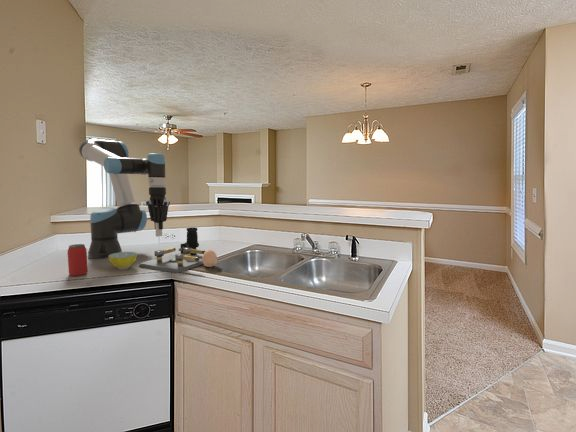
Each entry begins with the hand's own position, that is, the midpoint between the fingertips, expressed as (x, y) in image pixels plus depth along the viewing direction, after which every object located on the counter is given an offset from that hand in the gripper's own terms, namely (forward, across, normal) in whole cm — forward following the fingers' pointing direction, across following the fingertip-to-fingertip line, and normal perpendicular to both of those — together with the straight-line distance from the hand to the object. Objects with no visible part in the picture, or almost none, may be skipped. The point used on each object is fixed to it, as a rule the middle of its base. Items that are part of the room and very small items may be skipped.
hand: (159, 235), depth 161 cm
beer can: (+12, -12, -32) cm, 37 cm away
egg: (+13, +28, +1) cm, 31 cm away
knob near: (+10, +7, -3) cm, 12 cm away
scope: (+12, +4, +17) cm, 21 cm away
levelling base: (+12, +12, -3) cm, 17 cm away
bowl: (+12, -4, -18) cm, 22 cm away
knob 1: (+10, +18, +4) cm, 21 cm away
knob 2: (+10, +24, -8) cm, 27 cm away
